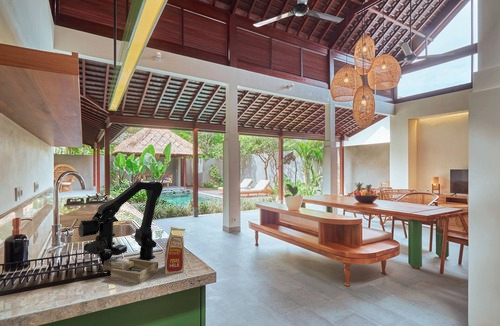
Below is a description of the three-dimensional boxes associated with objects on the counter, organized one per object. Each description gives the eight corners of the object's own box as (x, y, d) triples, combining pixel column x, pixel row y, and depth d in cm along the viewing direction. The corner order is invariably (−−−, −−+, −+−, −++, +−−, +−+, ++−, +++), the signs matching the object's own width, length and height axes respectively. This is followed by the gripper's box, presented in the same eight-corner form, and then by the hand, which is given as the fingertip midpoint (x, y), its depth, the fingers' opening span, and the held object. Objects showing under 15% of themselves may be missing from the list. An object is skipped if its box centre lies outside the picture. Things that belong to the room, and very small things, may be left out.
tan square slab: (115, 266, 122) (115, 256, 122) (133, 269, 120) (134, 258, 120) (102, 272, 114) (102, 262, 114) (121, 276, 112) (122, 265, 112)
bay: (131, 267, 123) (131, 258, 123) (157, 270, 120) (158, 262, 120) (110, 278, 110) (110, 269, 110) (139, 283, 107) (140, 273, 107)
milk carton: (165, 274, 117) (166, 229, 117) (163, 266, 125) (165, 224, 125) (186, 271, 120) (187, 228, 120) (183, 264, 129) (184, 223, 129)
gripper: (73, 235, 113) (72, 271, 113) (109, 239, 109) (108, 277, 109) (94, 228, 124) (93, 261, 124) (128, 232, 119) (127, 266, 120)
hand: (104, 266), depth 119 cm, fingers closed
